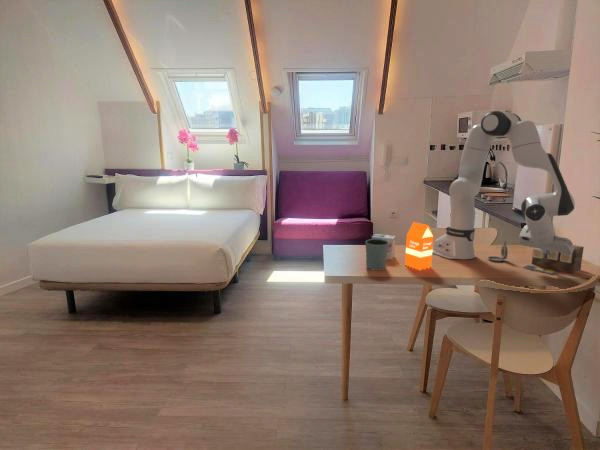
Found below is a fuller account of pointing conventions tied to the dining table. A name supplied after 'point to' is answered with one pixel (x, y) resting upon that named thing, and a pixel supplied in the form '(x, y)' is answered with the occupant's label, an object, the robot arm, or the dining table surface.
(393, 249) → the light bulb box
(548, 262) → the console
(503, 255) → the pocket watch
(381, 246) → the grey green cup
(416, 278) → the dining table surface
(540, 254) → the button left
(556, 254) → the button middle
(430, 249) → the orange juice
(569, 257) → the button right
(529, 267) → the pattern tile
